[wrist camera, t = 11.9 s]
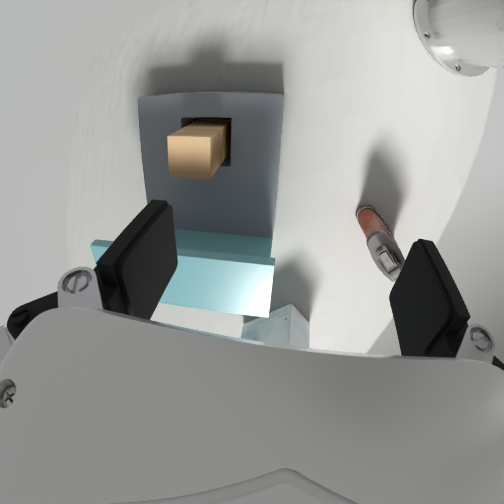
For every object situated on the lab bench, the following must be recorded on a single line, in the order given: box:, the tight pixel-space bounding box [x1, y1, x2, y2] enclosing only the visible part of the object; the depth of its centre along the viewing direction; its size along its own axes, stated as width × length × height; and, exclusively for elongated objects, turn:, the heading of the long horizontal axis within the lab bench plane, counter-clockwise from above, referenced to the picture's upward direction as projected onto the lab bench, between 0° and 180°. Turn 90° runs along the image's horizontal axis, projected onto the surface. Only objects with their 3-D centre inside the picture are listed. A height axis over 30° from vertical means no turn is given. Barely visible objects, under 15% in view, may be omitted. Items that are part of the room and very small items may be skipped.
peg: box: [167, 119, 231, 179], centre depth 28 cm, size 4×4×10 cm
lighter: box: [356, 204, 405, 282], centre depth 33 cm, size 8×3×10 cm, turn 43°
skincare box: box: [241, 303, 310, 348], centre depth 45 cm, size 10×6×10 cm, turn 129°
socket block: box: [90, 91, 284, 317], centre depth 28 cm, size 18×17×16 cm
